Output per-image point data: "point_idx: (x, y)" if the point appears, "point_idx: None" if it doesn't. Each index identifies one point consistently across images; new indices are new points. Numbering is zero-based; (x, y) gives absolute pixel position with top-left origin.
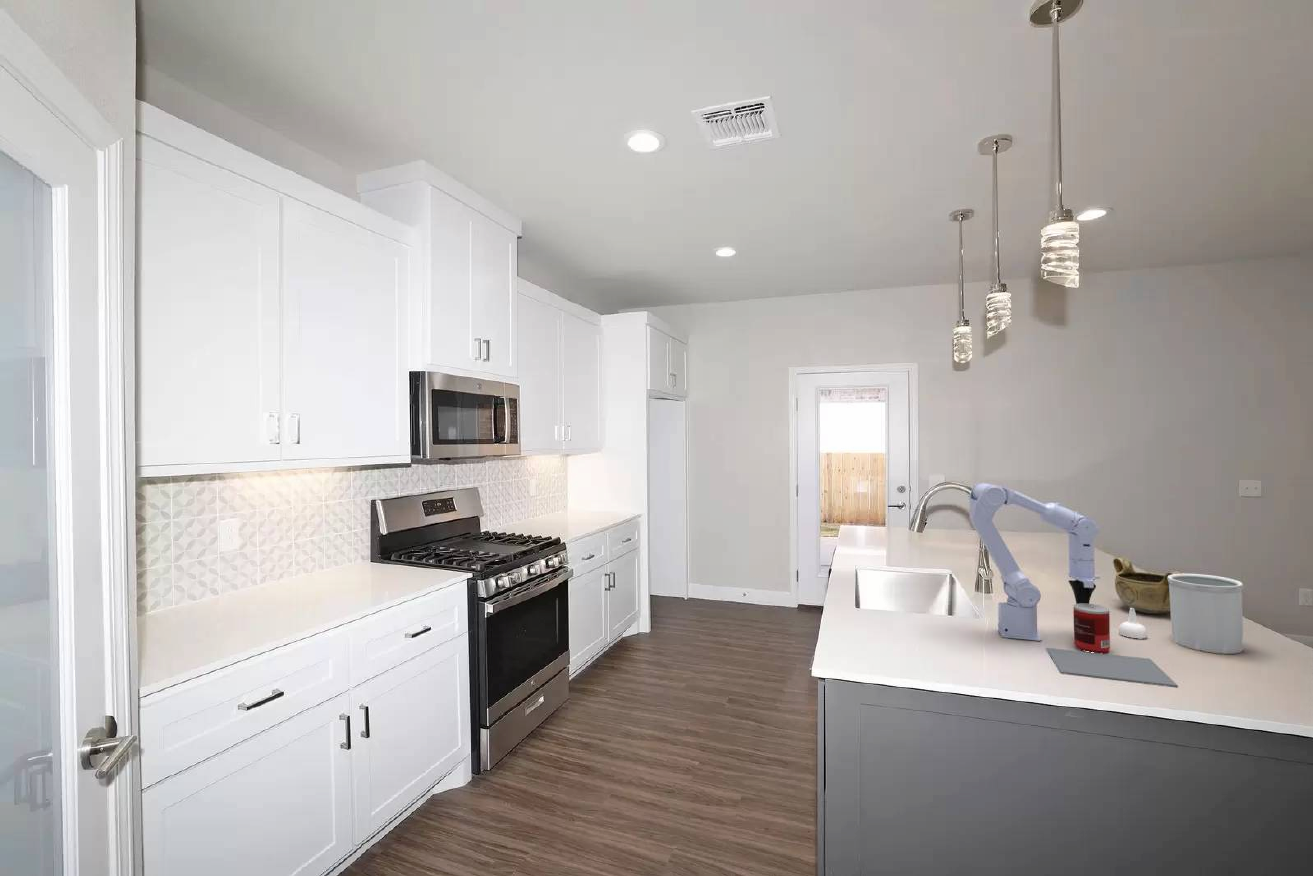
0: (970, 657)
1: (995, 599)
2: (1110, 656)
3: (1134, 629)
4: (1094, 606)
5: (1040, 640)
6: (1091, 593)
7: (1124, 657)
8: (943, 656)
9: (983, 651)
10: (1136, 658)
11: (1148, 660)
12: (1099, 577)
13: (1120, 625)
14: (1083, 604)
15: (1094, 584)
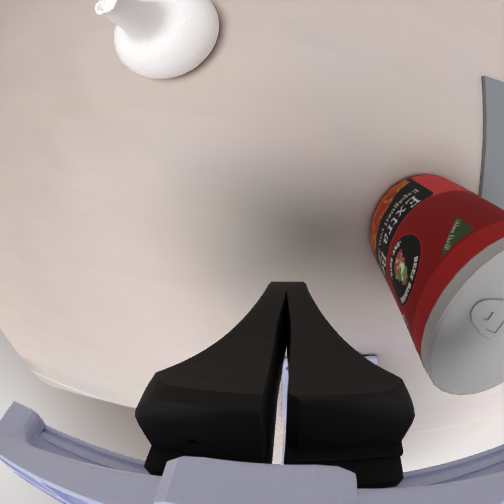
0: (469, 433)
1: (25, 354)
2: (496, 199)
3: (203, 21)
4: (470, 303)
5: (377, 358)
6: (352, 350)
7: (497, 156)
8: (460, 451)
9: (445, 428)
10: (496, 120)
11: (502, 91)
12: (349, 498)
13: (152, 69)
14: (441, 358)
15: (327, 408)
